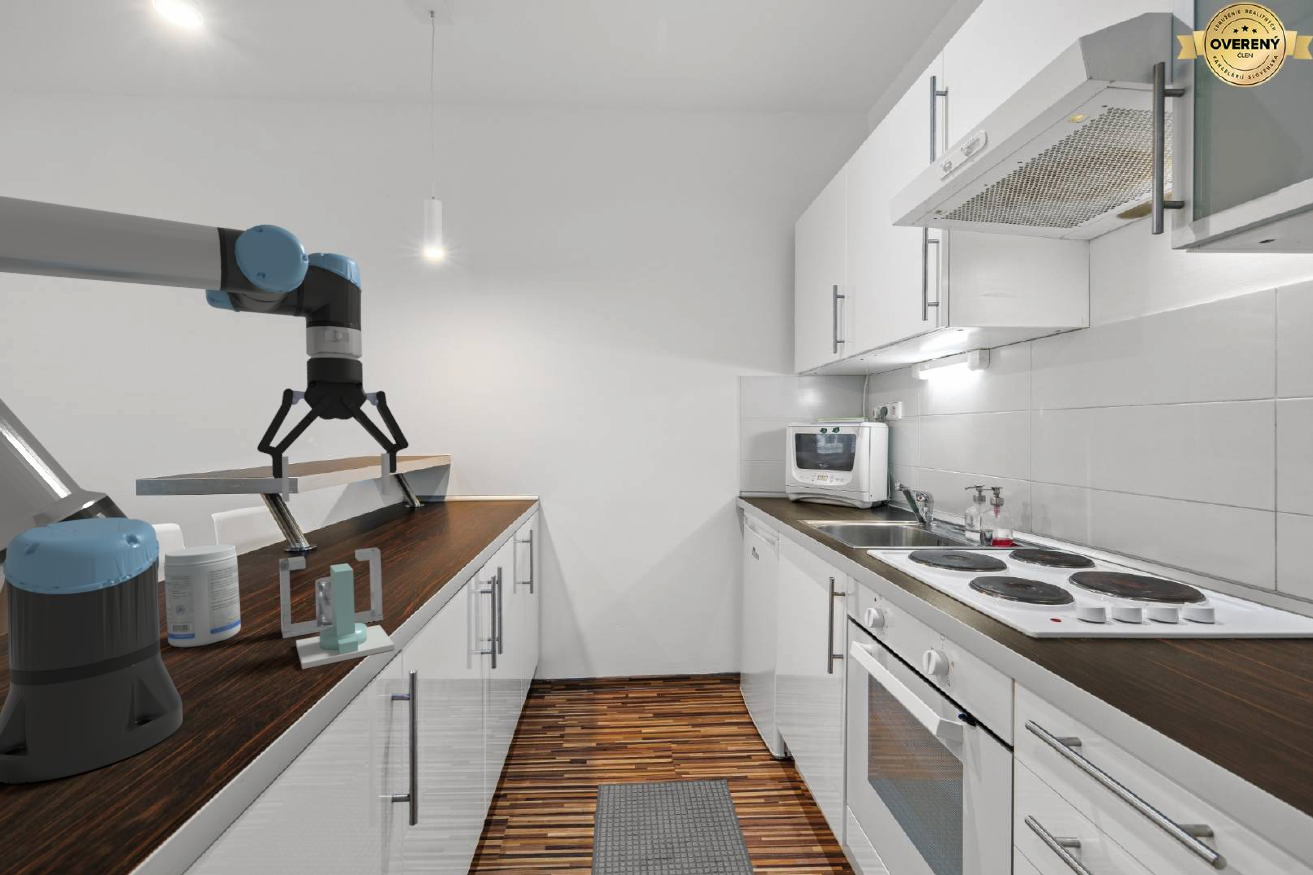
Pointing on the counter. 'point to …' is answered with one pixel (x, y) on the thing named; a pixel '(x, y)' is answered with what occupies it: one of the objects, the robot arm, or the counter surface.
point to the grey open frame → (328, 595)
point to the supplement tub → (202, 595)
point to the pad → (317, 656)
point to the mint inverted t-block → (343, 614)
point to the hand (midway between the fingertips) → (337, 497)
